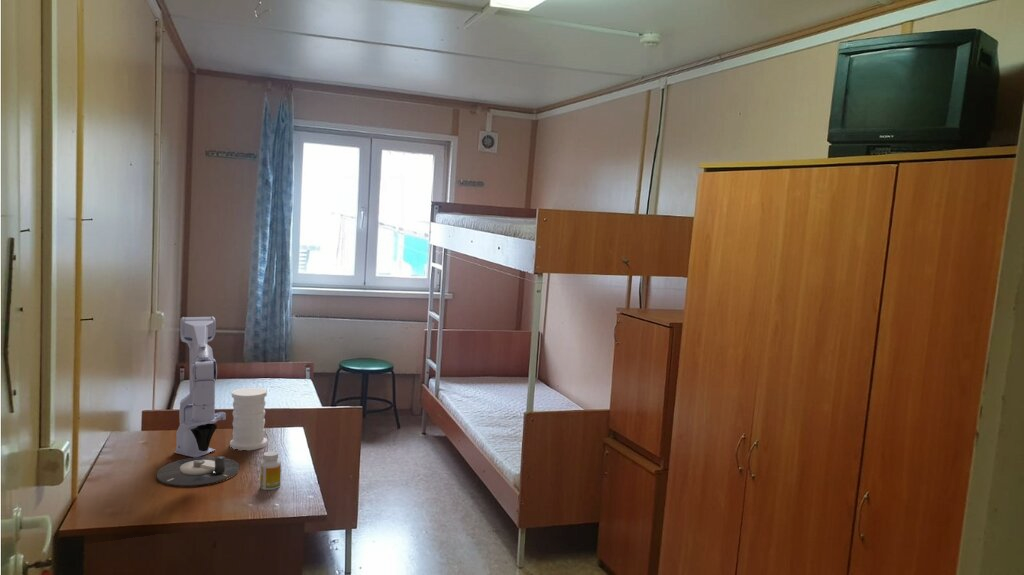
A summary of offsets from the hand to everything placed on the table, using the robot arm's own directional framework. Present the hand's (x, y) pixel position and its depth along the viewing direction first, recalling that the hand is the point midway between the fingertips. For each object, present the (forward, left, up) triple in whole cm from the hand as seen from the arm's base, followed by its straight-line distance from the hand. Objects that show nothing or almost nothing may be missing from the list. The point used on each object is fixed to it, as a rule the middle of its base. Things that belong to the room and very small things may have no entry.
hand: (203, 450), depth 198 cm
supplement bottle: (+18, +7, -10) cm, 22 cm away
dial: (-5, +5, -8) cm, 11 cm away
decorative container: (-13, +31, -10) cm, 34 cm away
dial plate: (-7, +5, -9) cm, 12 cm away
